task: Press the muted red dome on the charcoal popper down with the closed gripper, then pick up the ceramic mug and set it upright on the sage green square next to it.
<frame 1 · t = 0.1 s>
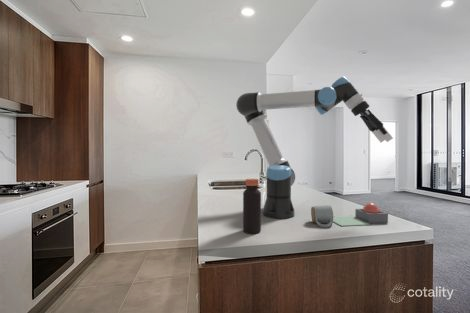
hand: (386, 140, 112), 36 cm above the counter, tool tilted 35°, fingers open, 13 cm apart
sage square: (346, 221, 106), on the counter
bottle: (251, 231, 92), on the counter
ceramic mug: (323, 224, 102), on the counter
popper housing: (371, 220, 107), on the counter
red dome: (371, 208, 107), point 5 cm above the counter, slide at 0.0 cm
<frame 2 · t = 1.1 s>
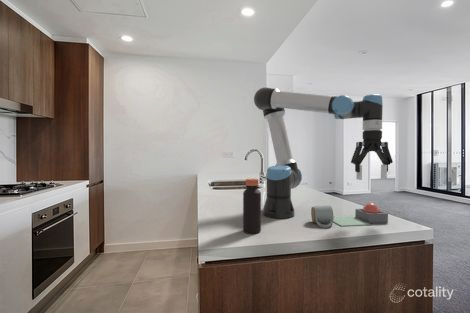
hand: (371, 179, 107), 18 cm above the counter, tool pointing down, fingers open, 11 cm apart
nothing on the counter moved.
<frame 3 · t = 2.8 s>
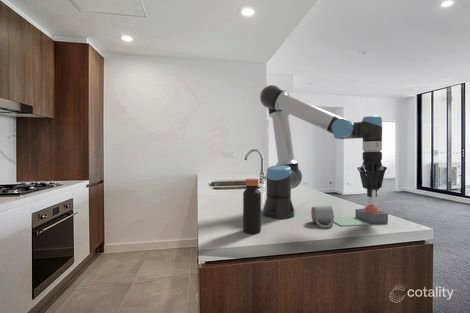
hand: (371, 204, 107), 7 cm above the counter, tool pointing down, fingers closed
red dome: (371, 210, 107), point 4 cm above the counter, slide at 0.7 cm, touching gripper
everything else where it was.
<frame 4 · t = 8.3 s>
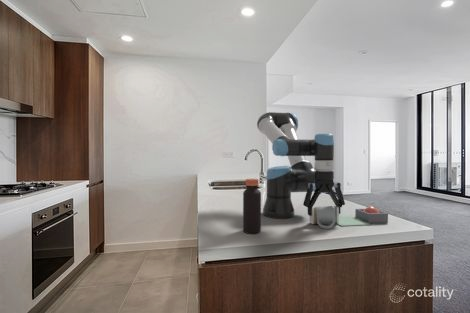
hand: (324, 222, 102), 1 cm above the counter, tool pointing down, fingers open, 10 cm apart
ceramic mug: (324, 225, 100), on the counter, touching gripper
red dome: (371, 212, 107), point 3 cm above the counter, slide at 1.6 cm
everything else where it was.
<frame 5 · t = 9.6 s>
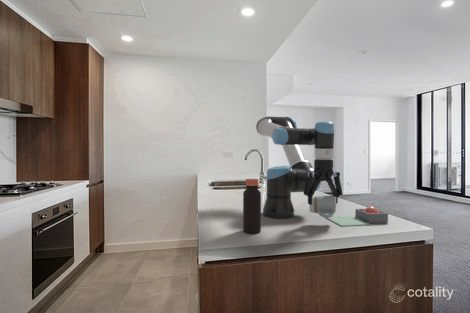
hand: (322, 211, 102), 5 cm above the counter, tool pointing down, fingers closed on ceramic mug, 9 cm apart
ceramic mug: (324, 214, 100), point 4 cm above the counter, touching gripper
everything else where it was.
when the fingers open (2 cm above the counter, at t = 14.3 s): ceramic mug stays where it is, resting on sage square.
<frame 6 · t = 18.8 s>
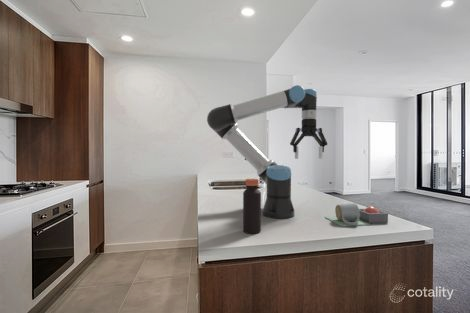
hand: (308, 158, 129), 27 cm above the counter, tool pointing down, fingers open, 13 cm apart
ceramic mug: (348, 222, 103), resting on sage square
everything else where it was.
at the end: red dome slide at 1.6 cm; ceramic mug 2.4 cm off-centre on the sage square, point 0.2 cm above the sage square's base; ceramic mug tilted 2° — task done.
